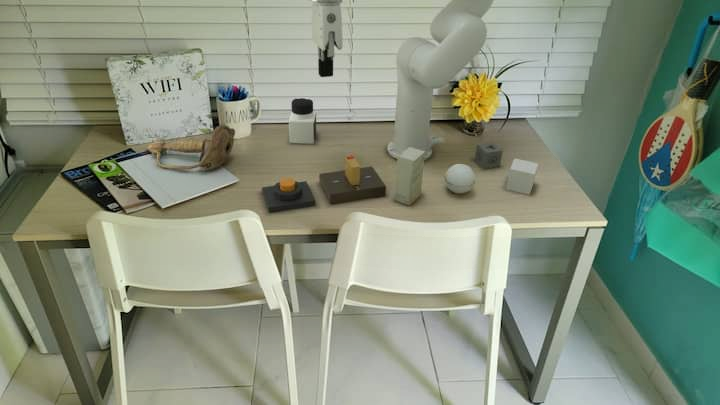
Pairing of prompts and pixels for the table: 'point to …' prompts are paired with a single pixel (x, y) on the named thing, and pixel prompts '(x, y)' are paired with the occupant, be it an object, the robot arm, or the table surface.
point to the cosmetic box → (409, 175)
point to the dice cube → (488, 155)
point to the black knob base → (288, 197)
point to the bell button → (287, 185)
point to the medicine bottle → (302, 121)
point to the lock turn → (352, 170)
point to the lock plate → (343, 191)
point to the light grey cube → (521, 176)
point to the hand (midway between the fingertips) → (325, 75)
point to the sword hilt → (199, 149)
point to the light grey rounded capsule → (460, 178)
